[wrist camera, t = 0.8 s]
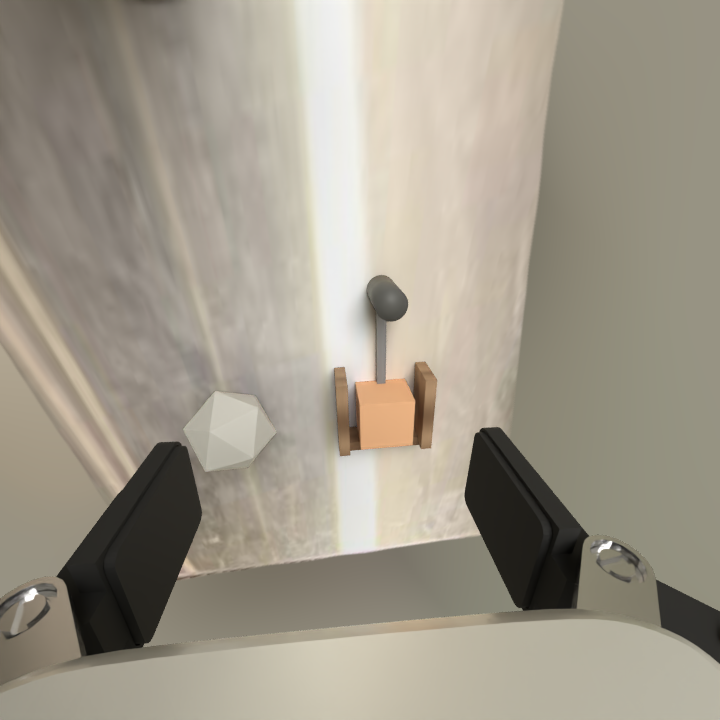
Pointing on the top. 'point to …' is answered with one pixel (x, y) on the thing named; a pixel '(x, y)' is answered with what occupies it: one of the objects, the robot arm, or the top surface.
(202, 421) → the die
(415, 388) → the shelf lane
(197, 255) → the top surface
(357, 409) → the block
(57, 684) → the robot arm
